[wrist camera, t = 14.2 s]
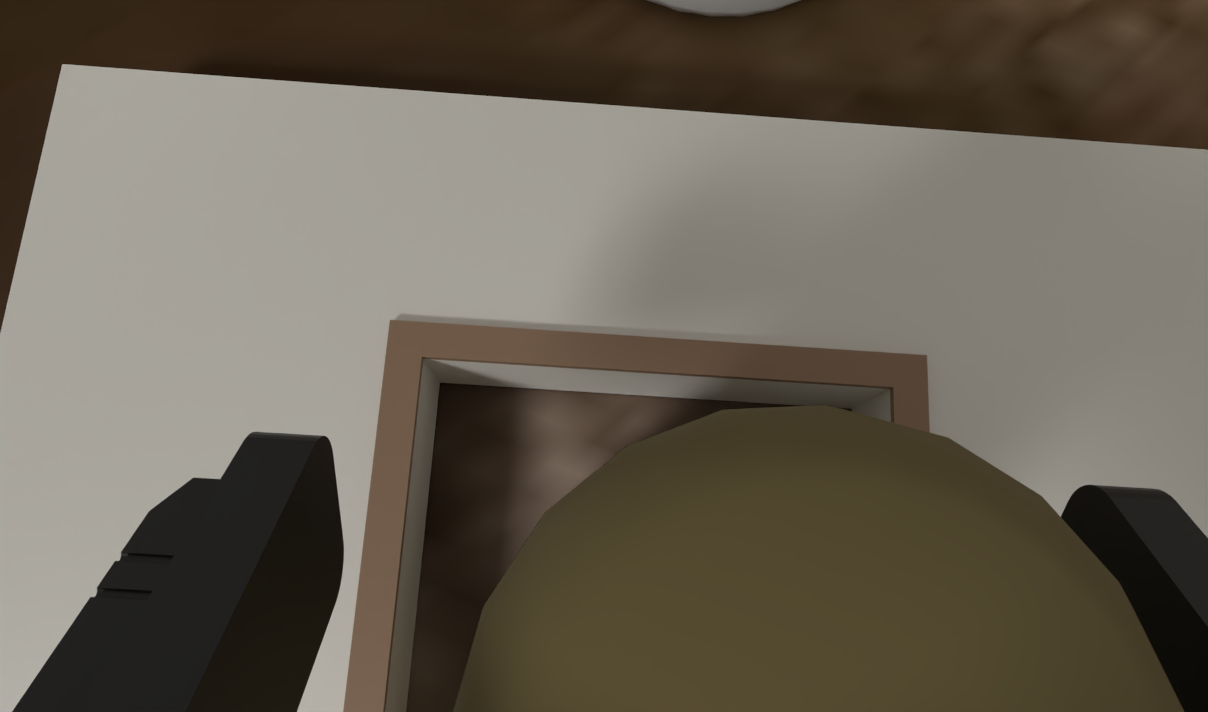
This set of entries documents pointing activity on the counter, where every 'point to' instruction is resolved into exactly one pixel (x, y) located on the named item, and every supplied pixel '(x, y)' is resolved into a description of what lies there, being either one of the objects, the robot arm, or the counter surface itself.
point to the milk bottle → (724, 6)
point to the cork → (807, 584)
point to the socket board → (553, 307)
